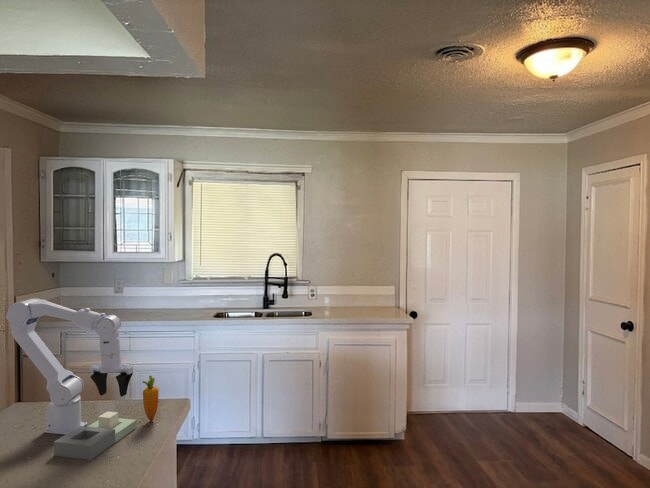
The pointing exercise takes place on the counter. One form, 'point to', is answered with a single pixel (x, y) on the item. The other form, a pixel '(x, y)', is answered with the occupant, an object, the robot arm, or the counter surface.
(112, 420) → the peg
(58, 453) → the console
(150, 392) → the carrot
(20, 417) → the counter surface
